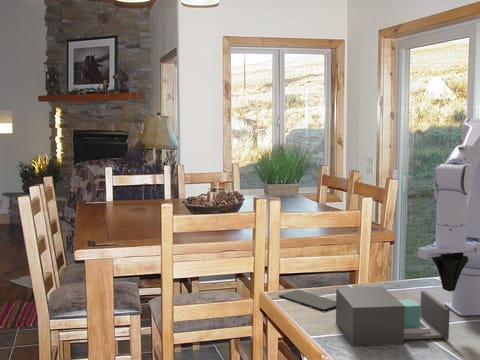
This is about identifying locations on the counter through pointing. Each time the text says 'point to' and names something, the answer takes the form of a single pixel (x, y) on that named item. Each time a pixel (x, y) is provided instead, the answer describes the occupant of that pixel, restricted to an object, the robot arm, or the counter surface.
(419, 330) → the tray
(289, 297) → the smartphone
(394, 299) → the dark grey cuboid box
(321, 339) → the counter surface
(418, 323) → the block
